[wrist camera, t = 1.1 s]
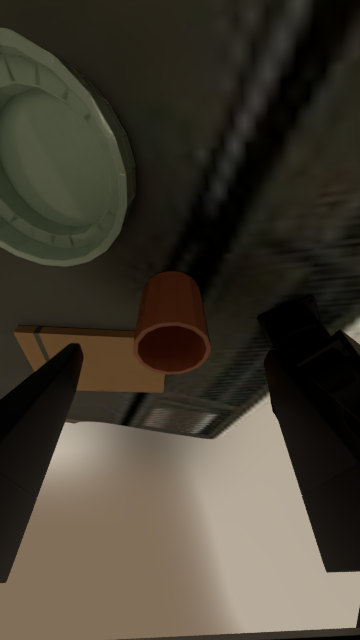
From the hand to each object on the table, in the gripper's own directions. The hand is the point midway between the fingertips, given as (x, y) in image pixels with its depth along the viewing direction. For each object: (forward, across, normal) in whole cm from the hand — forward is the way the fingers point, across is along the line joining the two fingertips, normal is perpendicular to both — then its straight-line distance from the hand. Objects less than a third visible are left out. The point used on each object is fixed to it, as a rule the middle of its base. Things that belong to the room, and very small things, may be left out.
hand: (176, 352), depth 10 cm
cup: (+13, 0, +6) cm, 15 cm away
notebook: (+13, +9, +17) cm, 24 cm away
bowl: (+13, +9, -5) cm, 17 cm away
